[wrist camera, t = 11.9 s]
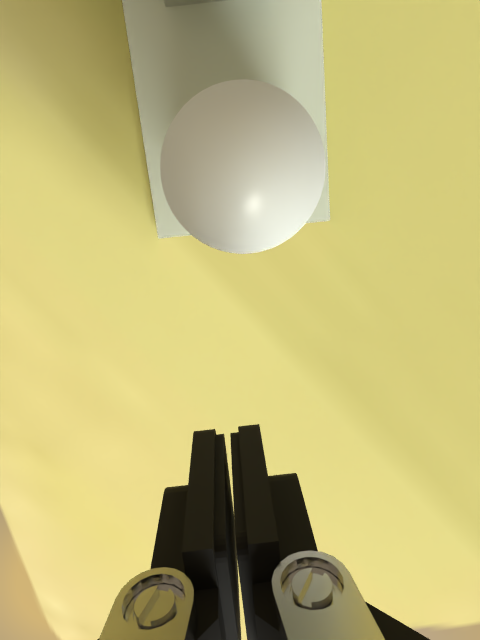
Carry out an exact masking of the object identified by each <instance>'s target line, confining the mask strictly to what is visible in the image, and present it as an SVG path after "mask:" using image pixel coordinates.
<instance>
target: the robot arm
mask: <svg viewBox="0 0 480 640" xmlns="http://www.w3.org/2000/svg"><path fill="white" fill-rule="evenodd" d="M238 430H239V432H237V433H230V434H231V455H232V476H233V497H234V511H233V503H232V495H231V487H230V479H229V470H228V462H227V454H226V446H225V438H224V434H219V435H216V431H215V429H212V430H203V431H194V433H193V443H192V453H191V463H190V473H189V483H188V485H185V486H176V487H167V488H166V489H165V491H164V495H163V501H162V507H161V512H160V518H159V524H158V529H157V535H156V541H155V546H154V552H153V558H152V563H151V569H150V570H147V571H145V572H142V573H140V574H139V575H137V576H135V577H134V578H132V579H131V580H130V581H129V582H128V583H127V584H126V585H125V586H124V587H123V588H122V589H121V591H120V592H119V594H118V596H117V597H116V599H115V601H114V604H113V606H112V609H111V611H110V614H109V616H108V618H107V621H106V623H105V626H104V628H103V631H102V633H101V635H100V638H99V639H98V640H241V627H240V606H239V586H238V568H239V576H240V584H241V592H242V600H243V608H244V616H245V625H246V633H247V640H430V639H428V638H426V637H424V636H423V635H421V634H419V633H418V632H416V631H414V630H413V629H411V628H409V627H408V626H406V625H404V624H402V623H401V622H399V621H397V620H396V619H394V618H392V617H391V616H389V615H387V614H385V613H384V612H382V611H380V610H379V609H377V608H375V607H373V606H372V605H370V604H368V603H367V602H365V601H364V599H363V597H362V595H361V593H360V591H359V590H358V588H357V586H356V584H355V582H354V580H353V578H352V576H351V574H350V573H349V571H348V570H347V569H346V567H345V566H344V565H343V563H341V562H340V561H339V560H337V559H336V558H335V557H333V556H331V555H328V554H326V553H323V552H318V550H317V547H316V543H315V539H314V536H313V532H312V528H311V524H310V521H309V517H308V513H307V510H306V506H305V502H304V498H303V495H302V491H301V487H300V484H299V480H298V477H297V474H296V473H292V474H283V475H274V476H268V474H267V468H266V462H265V456H264V450H263V444H262V438H261V432H260V427H259V424H258V425H249V426H240V427H238ZM234 518H235V520H234ZM237 560H238V566H237Z"/></svg>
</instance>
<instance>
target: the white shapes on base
mask: <svg viewBox="0 0 480 640" xmlns="http://www.w3.org/2000/svg"><path fill="white" fill-rule="evenodd" d="M122 4H123V11H124V17H125V24H126V30H127V37H128V43H129V50H130V56H131V63H132V70H133V76H134V83H135V89H136V96H137V102H138V109H139V115H140V122H141V128H142V135H143V142H144V148H145V155H146V161H147V168H148V174H149V181H150V187H151V194H152V200H153V207H154V213H155V220H156V227H157V233H158V238H168V237H177V236H187V235H192V236H193V237H195V238H196V239H198V240H199V241H201V242H202V243H204V244H206V245H208V246H210V247H212V248H215V249H218V250H220V251H225V252H229V253H238V254H246V253H256V252H261V251H265V250H268V249H271V248H273V247H275V246H278V245H280V244H281V243H283V242H285V241H286V240H288V239H289V238H291V237H292V236H293V235H294V234H296V233H297V232H298V231H299V230H300V229H301V228H302V227H303V226H304V225H305V223H312V222H322V221H330V207H329V182H328V157H327V132H326V107H325V81H324V56H323V31H322V6H321V0H122Z"/></svg>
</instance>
